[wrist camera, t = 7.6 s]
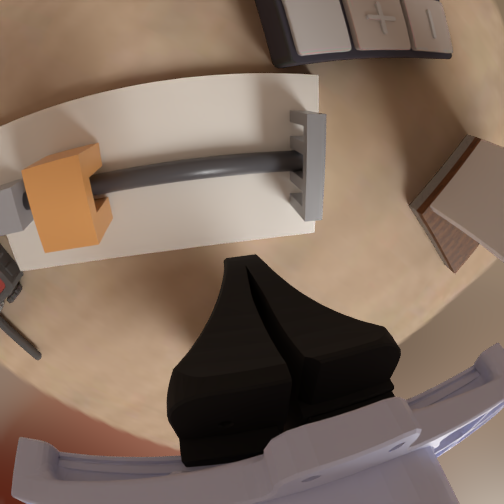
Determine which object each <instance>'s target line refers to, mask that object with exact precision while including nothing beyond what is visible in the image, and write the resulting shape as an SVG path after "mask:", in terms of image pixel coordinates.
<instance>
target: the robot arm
mask: <svg viewBox="0 0 504 504" xmlns="http://www.w3.org/2000/svg"><path fill="white" fill-rule="evenodd" d="M400 356H401V351H400V348H399V347H398V345H397V343H396V342H395V340H394V339H393V337H392V336H391V334H390V333H389V332H388V331H387V329H386V328H385V327H383V326H379V325H375V324H371V323H367V322H364V321H360V320H357V319H354V318H352V317H349V316H346V315H343V314H341V313H338V312H336V311H334V310H332V309H330V308H328V307H325V306H323V305H321V304H319V303H318V302H316V301H314V300H312V299H311V298H309V297H307V296H306V295H304V294H302V293H301V292H299V291H298V290H297V289H295V288H294V287H292V286H291V285H290V284H289V283H287V282H286V281H285V280H284V279H282V278H281V277H280V276H279V275H278V274H276V273H275V272H274V271H273V270H272V269H271V268H270V267H269V266H268V265H267V264H266V263H265V262H264V261H263V260H262V259H261V258H260V257H259V256H257V255H256V254H255V255H247V256H240V257H232V258H226V259H225V260H224V276H223V281H222V285H221V289H220V293H219V296H218V299H217V302H216V304H215V307H214V309H213V312H212V314H211V316H210V318H209V320H208V322H207V324H206V326H205V328H204V329H203V331H202V333H201V334H200V336H199V338H198V339H197V340H196V342H195V343H194V345H193V346H192V348H191V349H190V350H189V352H188V353H187V354H186V355H185V357H184V358H183V359H182V360H181V361H180V362H179V363H178V365H177V366H176V367H175V368H174V369H173V372H172V375H171V379H170V383H169V387H168V393H167V417H168V421H169V423H170V424H171V426H172V428H173V429H174V431H175V433H176V434H177V436H178V438H179V441H180V452H181V456H165V457H111V456H95V455H83V454H73V453H65V452H59V451H58V450H57V449H56V448H55V447H53V446H52V445H51V444H49V443H47V442H45V441H41V440H35V439H29V438H24V437H20V438H19V442H18V447H17V453H16V460H15V466H14V474H13V483H12V493H11V495H12V496H13V497H14V498H16V499H18V500H20V501H22V502H24V503H27V504H459V502H458V500H457V498H456V495H455V493H454V491H453V489H452V487H451V485H450V483H449V481H448V479H447V477H446V475H445V473H444V471H443V470H442V468H441V465H440V464H439V462H438V460H437V457H439V456H440V455H442V454H443V453H445V452H446V451H448V450H449V449H451V448H452V447H453V446H455V445H457V444H458V443H459V442H461V441H462V440H464V439H465V438H466V437H468V436H469V435H470V434H472V433H473V432H474V431H476V430H477V429H478V428H480V427H481V426H482V425H484V424H485V423H486V422H487V421H489V420H490V419H491V418H492V417H494V416H495V415H496V414H497V413H498V412H499V411H500V410H501V409H502V408H503V407H504V349H503V347H502V346H501V345H500V344H499V343H496V344H495V345H493V346H491V347H489V348H488V349H487V350H485V351H484V352H482V353H481V354H480V356H479V357H478V358H477V360H476V361H475V363H474V365H473V366H472V367H470V368H468V369H466V370H465V371H463V372H461V373H459V374H458V375H456V376H454V377H452V378H450V379H448V380H447V381H445V382H443V383H441V384H439V385H437V386H435V387H433V388H431V389H429V390H427V391H425V392H423V393H420V394H418V395H416V396H414V397H412V398H410V399H408V400H405V399H403V398H400V397H395V396H394V394H393V392H392V390H393V389H394V385H393V383H392V382H391V380H390V378H391V376H392V374H393V372H394V370H395V368H396V366H397V364H398V361H399V358H400Z"/></svg>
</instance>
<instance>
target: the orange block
mask: <svg viewBox="0 0 504 504" xmlns="http://www.w3.org/2000/svg"><path fill="white" fill-rule="evenodd" d="M100 167H102V161H101V155H100V148H99V143H95V144H90V145H86V146H82V147H78V148H74V149H70V150H66V151H62V152H59V153H55V154H52V155H48V156H46V157H44V158H42V159H41V160H39V161H37V162H35V163H33V164H32V165H30V166H28V167H26V168H25V169H23V170H21V172H22V177H23V181H24V185H25V189H26V193H27V197H28V201H29V205H30V208H31V212H32V215H33V219H34V222H35V225H36V228H37V231H38V234H39V237H40V240H41V243H42V246H43V249H44V252H45V253H49V252H55V251H61V250H67V249H73V248H80V247H86V246H93V245H99V244H100V242H101V240H102V238H103V236H104V234H105V232H106V230H107V228H108V226H109V225H110V223H111V221H112V219H113V216H112V211H111V207H110V202H109V198H108V197H104V198H98V199H94V198H93V194H92V189H91V185H90V180H89V177H90V176H91V175H93V174H94V173H95V172H96V171H97V170H98V169H99V168H100Z"/></svg>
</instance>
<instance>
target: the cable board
mask: <svg viewBox="0 0 504 504" xmlns="http://www.w3.org/2000/svg"><path fill="white" fill-rule="evenodd" d="M95 143H99V148H100V155H101V161H102V167H100V168H99V169H98V170H97V171H96V172H95V173H94V174H93V175H91V176H90V177H89V180H90V185H91V189H92V194H93V198H94V199H98V198H104V197H108V198H109V202H110V207H111V211H112V216H113V219H112V221H111V223H110V225H109V226H108V228H107V230H106V232H105V234H104V236H103V238H102V240H101V242H100V244H99V245H93V246H86V247H80V248H73V249H67V250H61V251H55V252H49V253H45V252H44V249H43V246H42V243H41V240H40V237H39V234H38V231H37V228H36V225H35V222H34V219H33V215H32V212H31V208H30V205H29V201H28V197H27V193H26V189H25V185H24V181H23V177H22V172H21V170H23V169H25V168H26V167H28V166H30V165H32V164H33V163H35V162H37V161H39V160H41V159H42V158H44V157H46V156H48V155H52V154H55V153H59V152H62V151H66V150H70V149H74V148H78V147H82V146H86V145H90V144H95ZM325 152H326V114H322V113H319V75H309V74H287V73H246V74H223V75H209V76H197V77H188V78H179V79H171V80H164V81H157V82H151V83H145V84H139V85H134V86H129V87H124V88H119V89H115V90H110V91H106V92H102V93H97V94H94V95H90V96H86V97H82V98H79V99H75V100H72V101H68V102H65V103H62V104H59V105H55V106H52V107H49V108H46V109H43V110H41V111H38V112H35V113H32V114H30V115H27V116H24V117H22V118H19V119H17V120H14V121H12V122H9V123H7V124H5V125H2V126H0V236H3V235H7V238H8V241H9V244H10V246H11V249H12V252H13V254H14V257H15V259H16V262H17V264H18V267H19V269H20V271H27V270H34V269H41V268H48V267H54V266H61V265H68V264H75V263H82V262H89V261H97V260H104V259H111V258H118V257H126V256H133V255H140V254H148V253H155V252H163V251H170V250H178V249H186V248H193V247H201V246H209V245H217V244H225V243H233V242H241V241H249V240H257V239H265V238H273V237H282V236H290V235H298V234H307V233H314V232H315V221H316V220H322V213H323V197H324V178H325Z"/></svg>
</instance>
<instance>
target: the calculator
mask: <svg viewBox="0 0 504 504" xmlns="http://www.w3.org/2000/svg"><path fill="white" fill-rule="evenodd" d="M255 3H256V6H257V9H258V13H259V16H260V19H261V23H262V26H263V30H264V33H265V37H266V40H267V44H268V48H269V51H270V55H271V59H272V62H273V65H274V66H275V67H277V68H284V67H290V66H297V65H304V64H311V63H319V62H327V61H336V60H348V59H364V58H430V59H450V58H451V57H452V53H453V48H452V43H451V38H450V33H449V29H448V24H447V20H446V16H445V12H444V9H443V5H442V3H441V2H440V1H439V0H255Z"/></svg>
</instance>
